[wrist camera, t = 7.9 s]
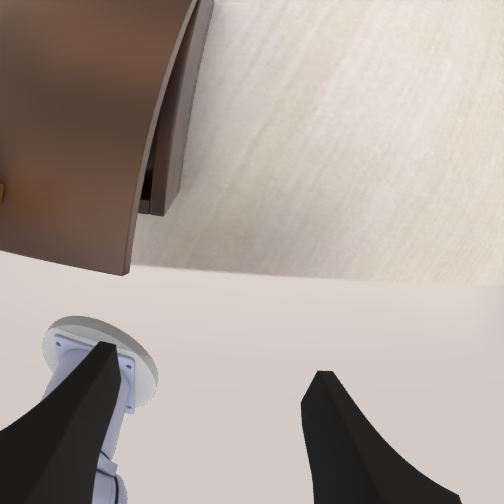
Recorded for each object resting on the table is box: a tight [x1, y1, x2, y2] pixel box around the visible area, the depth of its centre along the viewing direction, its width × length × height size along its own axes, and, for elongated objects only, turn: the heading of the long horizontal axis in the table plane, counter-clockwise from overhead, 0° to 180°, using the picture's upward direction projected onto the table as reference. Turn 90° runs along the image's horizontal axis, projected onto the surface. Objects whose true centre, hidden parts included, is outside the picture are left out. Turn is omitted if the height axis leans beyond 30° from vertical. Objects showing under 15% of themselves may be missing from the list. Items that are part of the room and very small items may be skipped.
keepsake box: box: [138, 0, 214, 216], centre depth 12 cm, size 11×14×4 cm
